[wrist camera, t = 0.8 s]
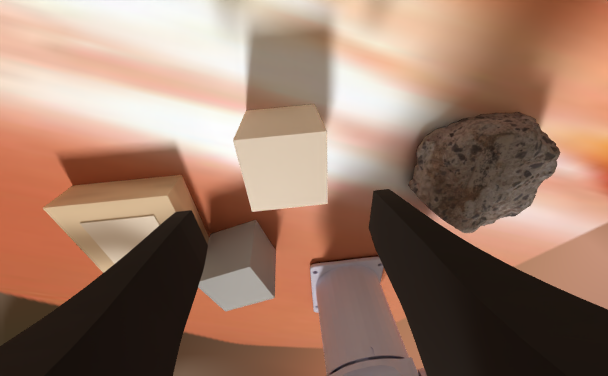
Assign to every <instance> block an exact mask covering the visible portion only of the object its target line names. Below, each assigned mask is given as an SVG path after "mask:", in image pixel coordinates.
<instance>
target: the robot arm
mask: <svg viewBox="0 0 608 376" xmlns="http://www.w3.org/2000/svg"><path fill="white" fill-rule="evenodd" d="M369 230H370V233H371V236H372V240H373V243H374V246H375V249H376V251H377V253H378V257H369V258H360V259H351V260H343V261H334V262H325V263H316V264H312V265H311V266H310V274H311V285H312V296H313V308H314V312H319V319H320V326H321V334H322V342H323V349H324V357H325V364H326V372H327V376H608V310H607V309H605V308H603V307H600V306H598V305H595V304H593V303H591V302H588V301H586V300H583V299H581V298H579V297H576V296H574V295H572V294H570V293H568V292H565V291H563V290H561V289H558V288H556V287H554V286H552V285H550V284H548V283H545V282H543V281H541V280H539V279H537V278H535V277H533V276H531V275H529V274H526V273H524V272H522V271H520V270H518V269H516V268H514V267H512V266H510V265H508V264H506V263H504V262H503V261H501V260H499V259H497V258H495V257H493V256H491V255H490V254H488V253H486V252H484V251H482V250H480V249H479V248H477V247H475V246H473V245H472V244H470V243H468V242H466V241H465V240H463V239H462V238H460V237H458V236H457V235H455V234H454V233H452V232H450V231H449V230H447V229H446V228H444V227H442V226H441V225H439V224H438V223H436V222H435V221H433V220H432V219H430V218H429V217H428V216H426V215H425V214H423V213H422V212H420V211H419V210H418V209H416V208H415V207H413V206H412V205H411V204H409V203H408V202H406V201H405V200H404V199H402V198H401V197H399V196H398V195H397V194H395V193H394V192H392V191H391V190H389V189H386V190H376V191H374V192H373V200H372V207H371V215H370V222H369ZM207 249H208V244H207V242H206V240H205V238H204V236H203V234H202V231H201V229H200V227H199V225H198V223H197V221H196V218H195V216H194V214H193V212H192V210H188V211H179V212H175V213H174V214H172V215H171V216H170V217H169V218H167V219H166V220H165V221H164V222H163V223H162V224H160V225H159V226H158V227H157V228H156V229H155V230H154V231H152V232H151V233H150V234H149V235H148V236H147V237H146V238H145V239H143V240H142V241H141V242H140V243H139V244H138V245H136V246H135V247H134V248H133V249H132V250H131V251H130V252H128V253H127V254H126V255H125V256H124V257H122V258H121V259H120V260H119V261H118V262H116V263H115V264H114V265H113V266H111V267H110V268H109V269H108V270H107V271H105V272H104V273H103V274H102V275H100V276H99V277H98V278H97V279H95V280H94V281H93V282H92V283H90V284H89V285H88V286H86V287H85V288H84V289H83V290H81V291H80V292H79V293H77V294H76V295H75V296H73V297H72V298H70V299H69V300H68V301H66V302H65V303H63V304H62V305H61V306H59V307H58V308H57V309H55V310H54V311H53V312H51V313H50V314H48V315H47V316H45V317H44V318H42V319H41V320H40V321H38V322H37V323H35V324H33V325H32V326H31V327H29V328H28V329H26V330H24V331H23V332H21V333H20V334H18V335H17V336H15V337H14V338H12V339H11V340H9V341H8V342H6V343H4V344H3V345H2V346H0V376H173V372H174V367H175V363H176V359H177V355H178V350H179V346H180V342H181V338H182V335H183V331H184V328H185V325H186V322H187V319H188V316H189V313H190V310H191V307H192V304H193V301H194V298H195V295H196V292H197V289H198V286H199V283H200V279H201V276H202V273H203V270H204V265H205V260H206V255H207ZM383 267H384V269H385V271H386V273H387V275H388V277H389V279H390V281H391V283H392V286H393V288H394V290H395V292H396V294H397V296H398V298H399V301H400V303H401V305H402V307H403V310H404V312H405V315H406V317H407V320H408V323H409V326H410V328H411V331H412V334H413V337H414V339H415V342H416V345H417V348H418V351H419V354H420V356H421V360H422V363H423V366H424V368H422V369H418V372H417V369H416V367H415V365H414V362H413V359H412V358H411V357H408V354H407V351H406V349H405V346H404V343H403V341H402V339H401V336H400V333H399V331H398V328H397V326H396V323H395V320H394V318H393V315H392V313H391V310H390V308H389V305H388V302H387V300H386V297H385V295H384V292H383V290H382V287H381V285H380V282H381V277H382V272H383Z"/></svg>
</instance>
